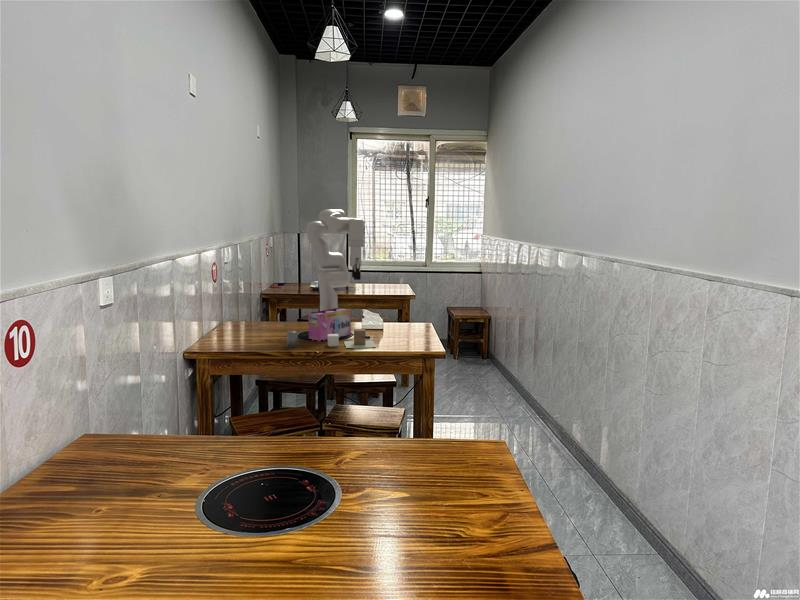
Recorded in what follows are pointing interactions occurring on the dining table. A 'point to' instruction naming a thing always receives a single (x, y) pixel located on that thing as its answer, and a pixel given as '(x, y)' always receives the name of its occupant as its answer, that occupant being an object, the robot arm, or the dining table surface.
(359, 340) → the walnut block
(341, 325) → the gum box
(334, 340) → the grey block
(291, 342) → the metal tin
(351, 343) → the sage mat
